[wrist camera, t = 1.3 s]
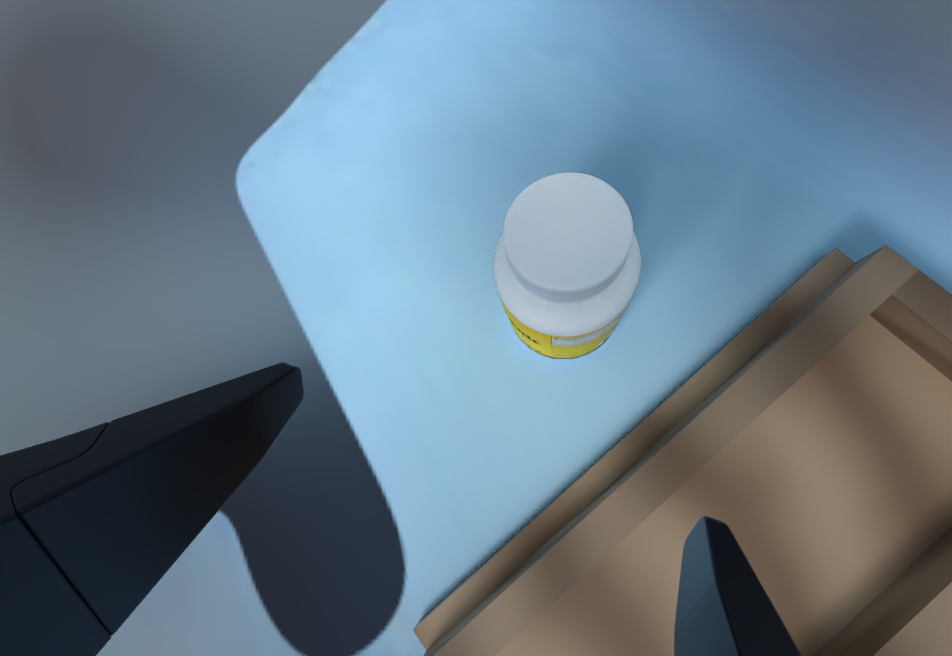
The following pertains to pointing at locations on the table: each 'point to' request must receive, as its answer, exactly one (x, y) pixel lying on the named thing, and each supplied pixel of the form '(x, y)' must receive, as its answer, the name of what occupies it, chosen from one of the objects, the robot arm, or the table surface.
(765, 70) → the table surface
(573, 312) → the supplement bottle
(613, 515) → the walnut track
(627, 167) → the table surface
